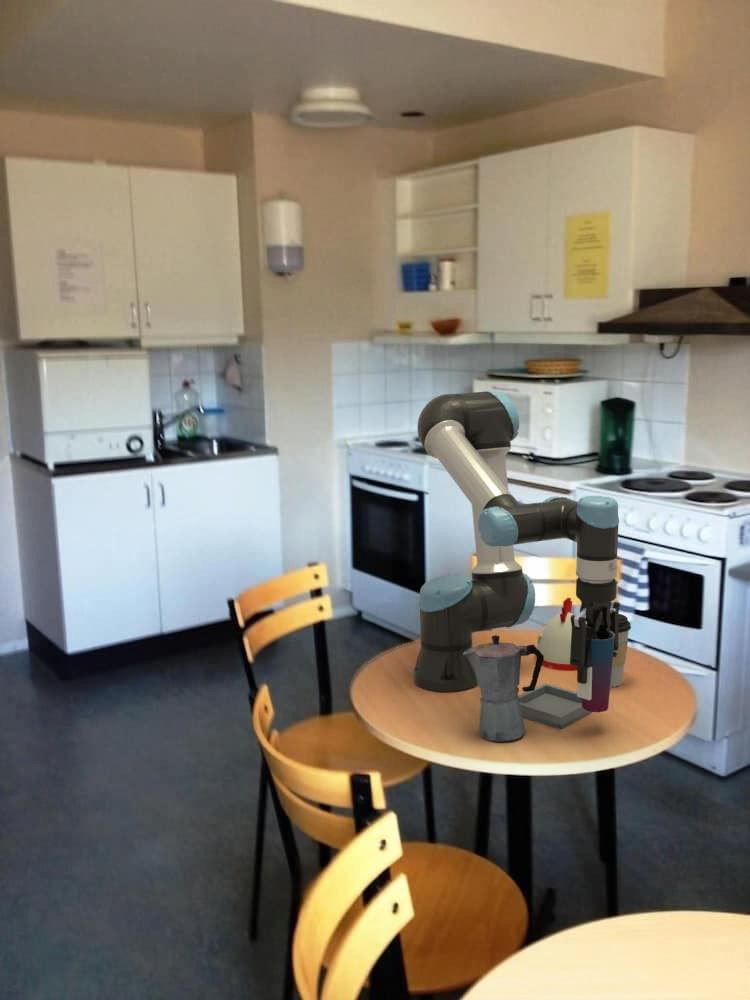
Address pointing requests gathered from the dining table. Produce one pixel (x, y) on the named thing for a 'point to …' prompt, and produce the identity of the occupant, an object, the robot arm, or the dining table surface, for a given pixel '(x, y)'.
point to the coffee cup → (620, 651)
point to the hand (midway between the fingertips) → (593, 692)
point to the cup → (600, 673)
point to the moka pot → (501, 687)
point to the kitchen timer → (557, 640)
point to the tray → (552, 706)
